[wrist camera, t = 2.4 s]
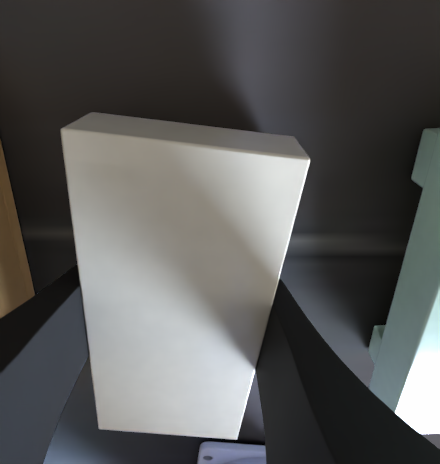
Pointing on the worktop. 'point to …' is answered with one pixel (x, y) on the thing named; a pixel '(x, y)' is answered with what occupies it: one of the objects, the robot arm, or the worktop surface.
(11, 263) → the tray
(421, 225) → the sage green thick block
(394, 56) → the worktop surface
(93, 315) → the off-white rectangular slab
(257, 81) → the worktop surface
